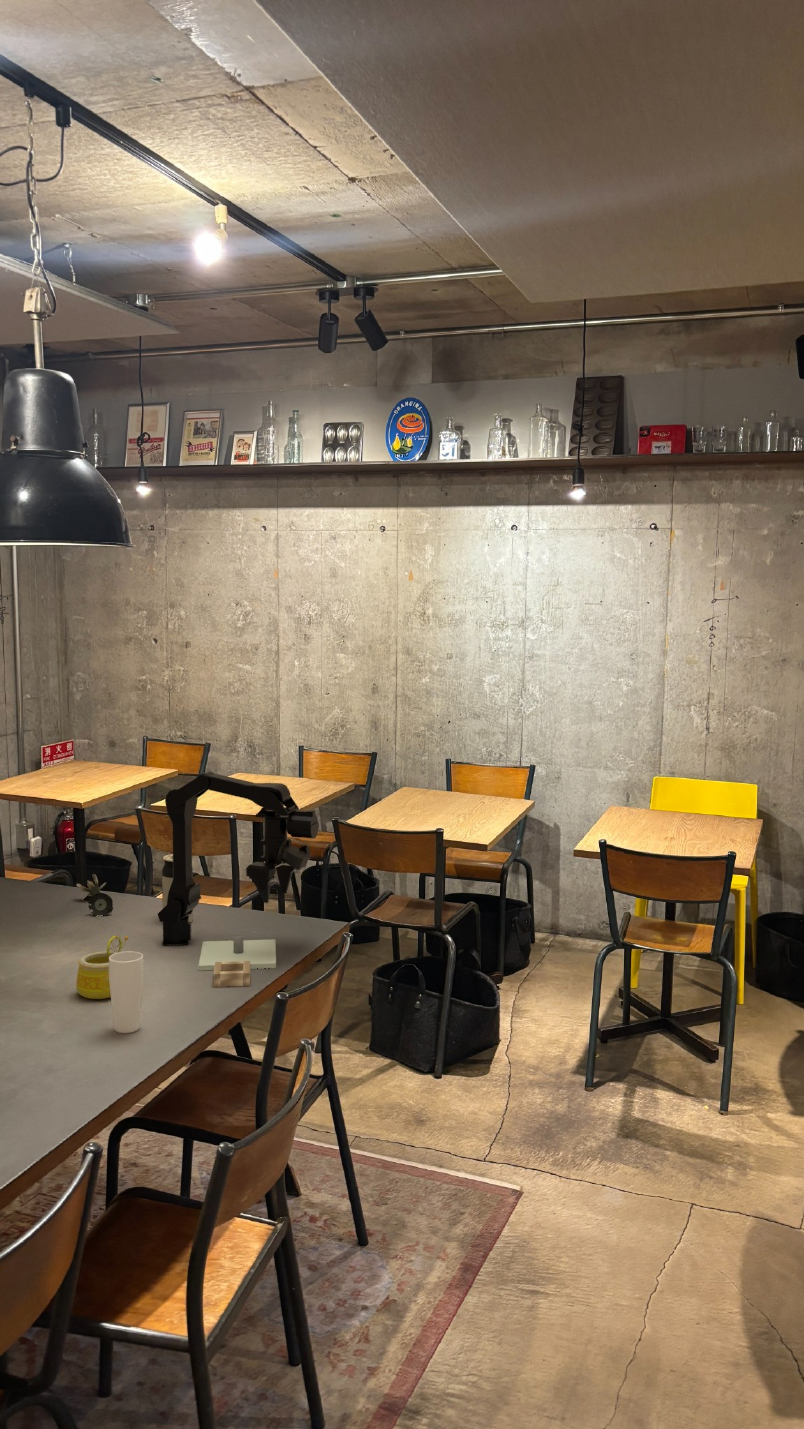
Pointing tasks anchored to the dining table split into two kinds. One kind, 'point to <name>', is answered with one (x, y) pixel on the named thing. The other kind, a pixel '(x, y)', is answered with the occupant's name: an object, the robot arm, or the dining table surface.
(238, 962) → the square wooden frame
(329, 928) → the dining table surface
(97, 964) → the mug
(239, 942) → the pale green base plate
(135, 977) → the drinking glass
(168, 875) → the travel mug
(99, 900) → the artificial flower
